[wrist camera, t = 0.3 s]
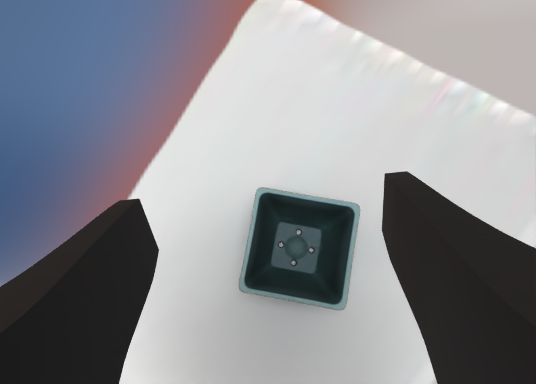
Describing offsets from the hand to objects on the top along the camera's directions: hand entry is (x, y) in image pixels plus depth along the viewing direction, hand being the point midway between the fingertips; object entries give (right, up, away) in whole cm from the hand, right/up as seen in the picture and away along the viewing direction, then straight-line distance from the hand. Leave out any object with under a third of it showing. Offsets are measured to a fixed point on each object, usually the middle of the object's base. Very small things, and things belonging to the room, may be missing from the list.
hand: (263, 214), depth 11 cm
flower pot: (+3, -5, +28) cm, 29 cm away
